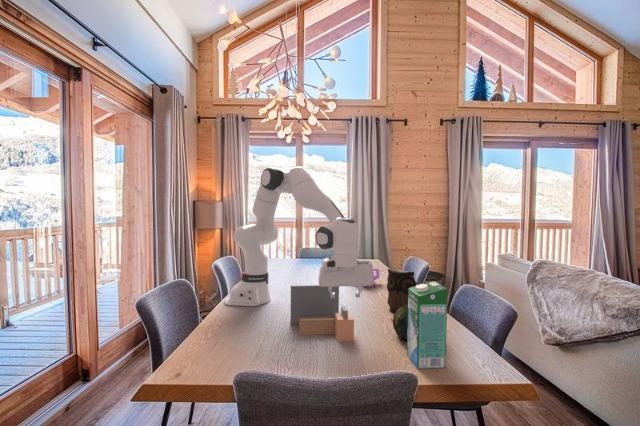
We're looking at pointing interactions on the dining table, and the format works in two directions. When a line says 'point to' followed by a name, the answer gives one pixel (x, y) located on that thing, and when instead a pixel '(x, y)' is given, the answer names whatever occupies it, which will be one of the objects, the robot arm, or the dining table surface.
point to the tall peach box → (344, 325)
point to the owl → (399, 288)
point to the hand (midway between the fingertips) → (345, 297)
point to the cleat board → (314, 308)
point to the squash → (401, 322)
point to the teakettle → (374, 276)
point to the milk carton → (427, 325)
